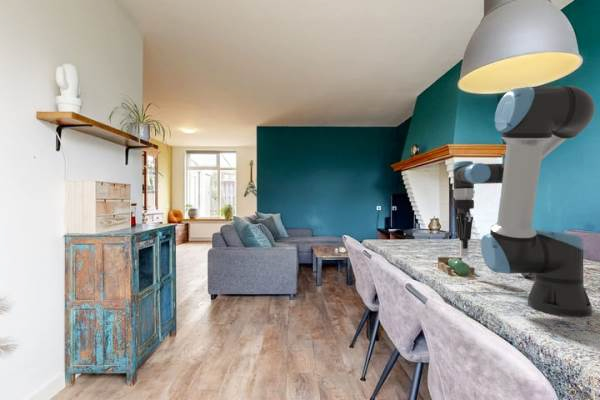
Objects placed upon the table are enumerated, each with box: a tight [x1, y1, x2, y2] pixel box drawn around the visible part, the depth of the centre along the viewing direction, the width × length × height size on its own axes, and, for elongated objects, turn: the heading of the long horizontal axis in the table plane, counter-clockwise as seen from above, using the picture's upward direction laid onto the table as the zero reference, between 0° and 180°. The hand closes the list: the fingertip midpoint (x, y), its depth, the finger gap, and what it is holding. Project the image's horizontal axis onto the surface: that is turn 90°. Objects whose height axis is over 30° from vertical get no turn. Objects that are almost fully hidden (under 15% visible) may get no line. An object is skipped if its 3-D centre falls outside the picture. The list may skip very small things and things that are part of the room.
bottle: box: [448, 258, 470, 276], centre depth 145 cm, size 5×5×15 cm
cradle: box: [437, 256, 482, 280], centre depth 144 cm, size 22×11×6 cm, turn 174°
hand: (464, 256), depth 137 cm, fingers closed
